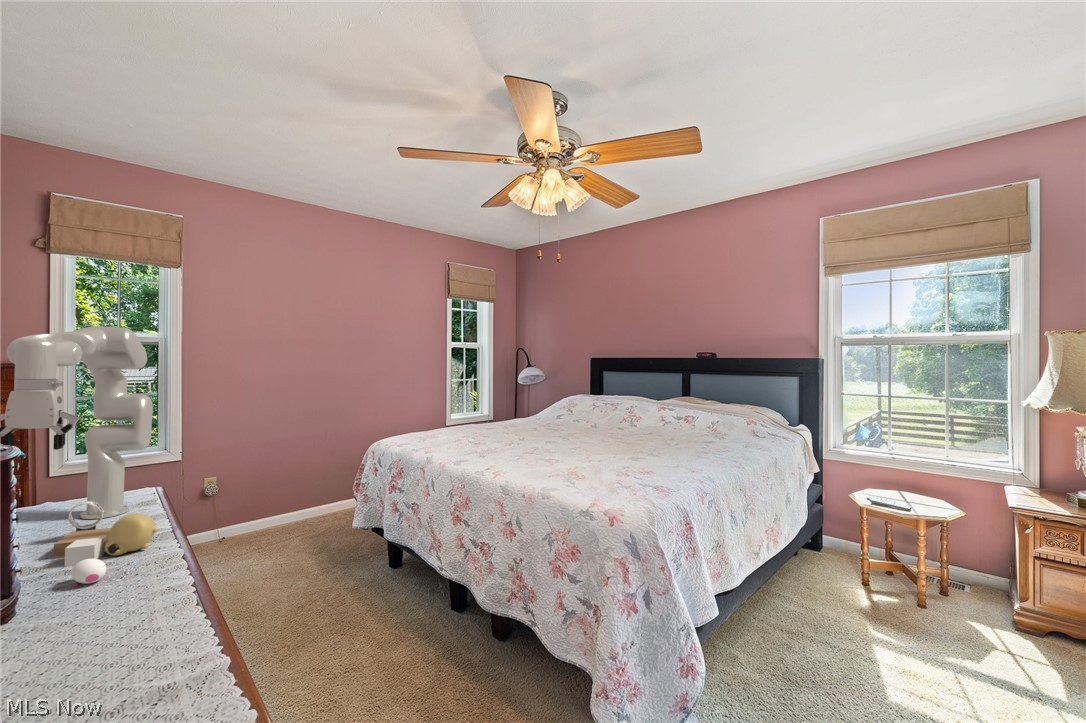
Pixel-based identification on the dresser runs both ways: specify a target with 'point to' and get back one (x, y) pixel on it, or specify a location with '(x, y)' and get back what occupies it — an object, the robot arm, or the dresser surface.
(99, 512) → the watch
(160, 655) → the dresser surface
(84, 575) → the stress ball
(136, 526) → the beige rounded piece
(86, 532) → the walnut block
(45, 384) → the robot arm
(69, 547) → the off-white block
